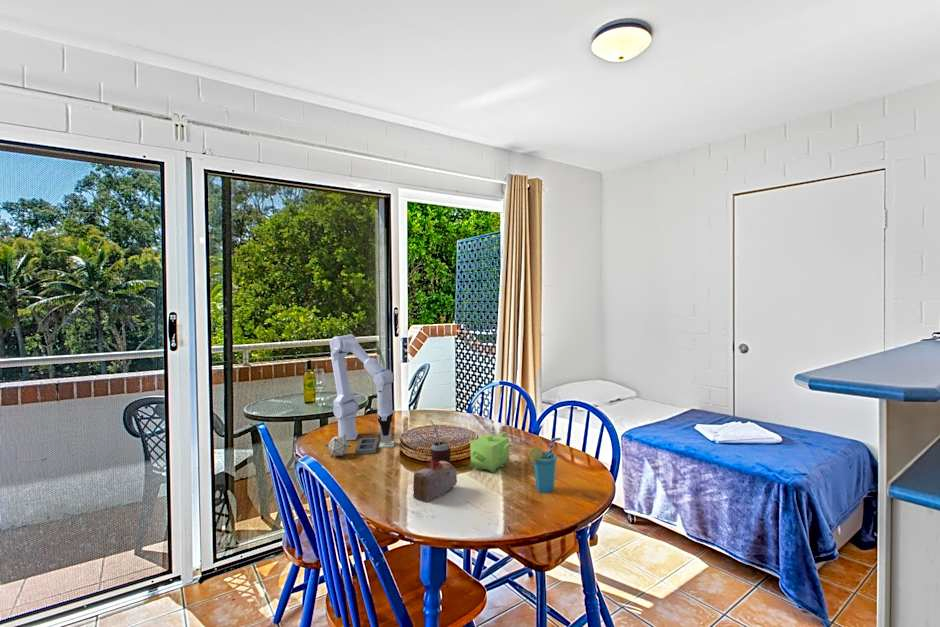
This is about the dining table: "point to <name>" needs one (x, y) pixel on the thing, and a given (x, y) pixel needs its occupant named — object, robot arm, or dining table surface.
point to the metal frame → (367, 446)
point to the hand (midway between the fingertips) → (386, 433)
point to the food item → (434, 480)
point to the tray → (386, 444)
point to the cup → (544, 467)
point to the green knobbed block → (490, 452)
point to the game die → (338, 446)
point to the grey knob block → (386, 438)
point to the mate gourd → (440, 450)
